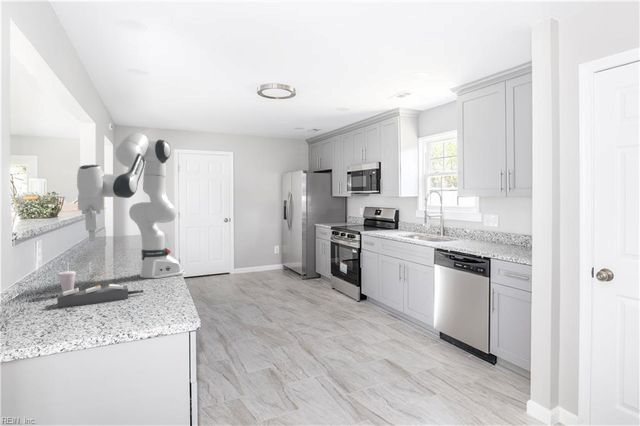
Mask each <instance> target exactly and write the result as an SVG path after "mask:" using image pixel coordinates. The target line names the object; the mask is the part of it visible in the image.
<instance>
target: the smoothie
mask: <svg viewBox="0 0 640 426" xmlns="http://www.w3.org/2000/svg"><path fill="white" fill-rule="evenodd" d="M66 265H67V266H66V269H67V270H66V271H61V272H58V273H57V274H58V275H57V276H58V277H59V282H60V287H61V293H63V292H65V291H68V290H72V289H75V279H76V275H77V271H75V270H74V271H73V270H70V266H69V265H70V264H69V262H66Z"/></svg>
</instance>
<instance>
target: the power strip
mask: <svg viewBox="0 0 640 426" xmlns="http://www.w3.org/2000/svg"><path fill="white" fill-rule="evenodd" d="M140 293H141V294H143V293H144V289H138V290H129V289H128V285H123V289H114V288H109V287H103V288H102V287H101V289H100V290H96V291H93V292H90V293H86V289H84V290H79V292H76V293H73V294H69V295H66V296H63V293H62V292H59V293H58V295H57V297H56V298H57V299H56V300H57V308H58V309H59V308H67V307H75V306H83V305H89V304H96V303H103V302H104V303H105V302H111V301H120V300H126V299H129V295H133V294H140Z"/></svg>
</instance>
